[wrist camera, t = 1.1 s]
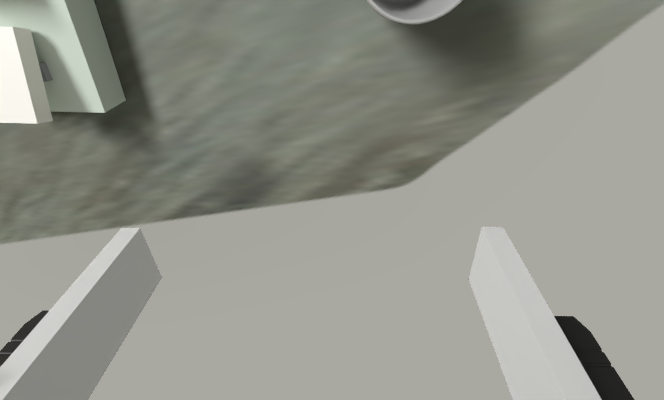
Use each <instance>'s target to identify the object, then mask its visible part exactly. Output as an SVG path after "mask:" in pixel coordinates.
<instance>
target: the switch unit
mask: <svg viewBox="0 0 664 400" xmlns="http://www.w3.org/2000/svg"><path fill="white" fill-rule="evenodd" d="M0 27H18V28H24V29H31V33H32V37H33V41H34V46H35V50H36V54H37V58H38V62H39V66H40V70H41V74H42V78H43V82H44V86H45V91H46V95H47V99H48V103H49V107H50V111H51V112H93V113H105V112H107V111H109V110H111V109H112V108H114V107H116V106H117V105H119V104H121V103H122V102H124V101H126V99H125V96H124V92H123V89H122V86H121V83H120V80H119V77H118V74H117V71H116V67H115V64H114V61H113V58H112V55H111V52H110V49H109V46H108V42H107V39H106V36H105V33H104V30H103V27H102V24H101V21H100V17H99V14H98V11H97V8H96V5H95V2H94V0H0Z"/></svg>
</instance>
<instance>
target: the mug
mask: <svg viewBox="0 0 664 400" xmlns="http://www.w3.org/2000/svg"><path fill="white" fill-rule="evenodd" d="M366 1H367V2H368V3H369V4H370V5H371V7H372V8H373V9H374V10H376V11H377V12H378V13H379V14H380V15H382V16H384V17H385V18H387V19H389V20H392V21H394V22H398V23H402V24H421V23H427V22H430V21H433V20H436V19H438V18H440V17H442V16H444V15H445V14H447V13H448V12H450V11H451V10H453V9H454V8H455V7H456V6H457V5H459V4H460V3H461V2H462V1H463V0H366Z"/></svg>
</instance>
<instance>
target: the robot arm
mask: <svg viewBox="0 0 664 400" xmlns="http://www.w3.org/2000/svg"><path fill="white" fill-rule="evenodd" d="M161 278H162V277H161V275H160V272H159V270H158V268H157V265H156V263H155V261H154V259H153V256H152V254H151V252H150V250H149V247H148V245H147V243H146V240H145V238H144V236H143V234H142V231H141V229H140V228H121V229H120V230H119V231H118V232H117V234H116V235H115V236H114V237H113V238H112V240H111V241H110V242H109V243H108V244H107V245H106V246H105V247H104V249H103V250H102V251H101V252H100V253H99V254H98V256H97V257H96V258H95V259H94V260H93V261H92V262H91V264H90V265H89V266H88V267H87V268H86V269H85V270H84V272H83V273H82V274H81V275H80V276H79V277H78V278H77V280H76V281H75V282H74V283H73V284H72V285H71V286H70V288H69V289H68V290H67V291H66V292H65V293H64V294H63V296H62V297H61V298H60V299H59V300H58V302H57V303H56V304H55V305H54V306H53V307H52V308H51V309H50V311H42V312H40V313H39V314H38V315H36V316H35V317H34V318H32V319H31V320H30V321H28V322H27V323H26V324H24V325H23V327H22V328H21V329H20V330H19V331H18V332H17V333H16V334H15V335H14V337H13V338H12V339H11V342H8V343H7V344H6V346H4V348H3V349H2V350H1V351H0V400H88V399H89V397H90V395H91V394H92V392H93V390H94V389H95V387H96V385H97V384H98V382H99V380H100V379H101V377H102V376H103V374H104V372H105V371H106V369H107V367H108V366H109V364H110V362H111V361H112V359H113V357H114V356H115V354H116V352H117V351H118V349H119V347H120V346H121V344H122V342H123V341H124V339H125V337H126V336H127V334H128V333H129V331H130V329H131V328H132V326H133V324H134V323H135V321H136V319H137V318H138V316H139V314H140V313H141V311H142V309H143V308H144V306H145V304H146V303H147V301H148V300H149V298H150V296H151V295H152V293H153V291H154V290H155V288H156V286H157V285H158V283H159V281H160V280H161ZM469 282H470V285H471V287H472V290H473V293H474V295H475V298H476V301H477V303H478V306H479V309H480V311H481V314H482V317H483V320H484V323H485V325H486V328H487V330H488V333H489V336H490V339H491V341H492V344H493V347H494V350H495V352H496V355H497V358H498V361H499V363H500V366H501V369H502V371H503V374H504V377H505V379H506V382H507V385H508V388H509V390H510V393H511V396H512V398H513V400H634V398H633V397H632V395H631V394H630V392H629V391H628V389H627V388H626V386H625V385H624V383H623V381H622V380H621V378H620V377H619V375H618V374H617V372H616V371H615V369H614V368H613V367H611V363H610V361H609V360H608V358H607V357H606V355H605V354H604V353H603V352H602V351H601V348H600V346H599V344H598V343H597V341H596V340H595V338H594V337H593V335H592V334H591V332H590V331H589V330H588V329H587V328H586V327H585V326H583V325H582V324H581V323H580V322H579V321H578V320H577V319H576V318H574V317H573V316H554V315H553V314H552V312H551V310H550V308H549V307H548V305H547V303H546V301H545V300H544V298H543V296H542V295H541V293H540V291H539V289H538V287H537V286H536V284H535V282H534V280H533V279H532V277H531V275H530V273H529V272H528V270H527V268H526V267H525V265H524V263H523V261H522V259H521V258H520V256H519V254H518V252H517V251H516V249H515V247H514V245H513V244H512V242H511V241H510V239H509V237H508V235H507V233H506V231H505V230H504V228H503V227H482V228H481V232H480V236H479V240H478V244H477V248H476V252H475V256H474V260H473V264H472V268H471V272H470V276H469Z"/></svg>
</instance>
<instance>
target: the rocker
mask: <svg viewBox="0 0 664 400" xmlns="http://www.w3.org/2000/svg"><path fill="white" fill-rule="evenodd" d="M50 121H53V119H52V115H51V111H50V107H49V103H48V99H47V95H46V91H45V86H44V82H43V78H42V74H41V70H40V66H39V62H38V58H37V54H36V50H35V46H34V41H33V37H32V33H31V29H24V28H18V27H0V123H44V122H50Z"/></svg>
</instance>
